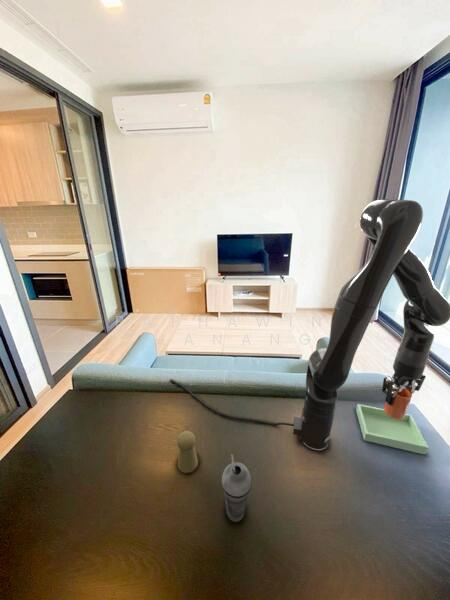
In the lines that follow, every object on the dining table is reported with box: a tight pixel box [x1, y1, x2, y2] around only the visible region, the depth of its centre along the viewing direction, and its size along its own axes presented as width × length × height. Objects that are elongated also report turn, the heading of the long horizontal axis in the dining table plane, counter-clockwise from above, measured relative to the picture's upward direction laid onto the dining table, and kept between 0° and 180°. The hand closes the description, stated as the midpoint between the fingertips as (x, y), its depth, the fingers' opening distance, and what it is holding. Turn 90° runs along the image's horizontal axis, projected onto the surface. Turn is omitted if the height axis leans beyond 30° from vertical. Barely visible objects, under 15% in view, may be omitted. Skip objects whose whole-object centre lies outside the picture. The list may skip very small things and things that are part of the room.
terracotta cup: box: [383, 384, 413, 420], centre depth 81 cm, size 6×6×9 cm
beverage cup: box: [220, 453, 252, 523], centre depth 59 cm, size 7×7×20 cm
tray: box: [355, 403, 429, 455], centre depth 85 cm, size 18×14×3 cm
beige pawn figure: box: [176, 430, 199, 474], centre depth 72 cm, size 6×6×11 cm
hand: (397, 401), depth 81 cm, fingers closed on terracotta cup, 6 cm apart
